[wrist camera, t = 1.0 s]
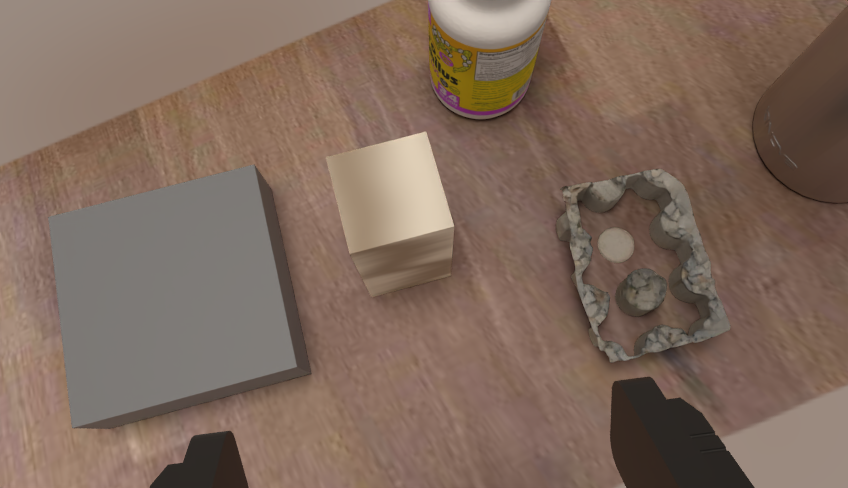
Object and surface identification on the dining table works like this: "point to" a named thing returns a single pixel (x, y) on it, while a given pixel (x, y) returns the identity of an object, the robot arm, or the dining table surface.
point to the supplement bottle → (484, 52)
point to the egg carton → (644, 285)
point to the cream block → (394, 213)
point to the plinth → (174, 299)
